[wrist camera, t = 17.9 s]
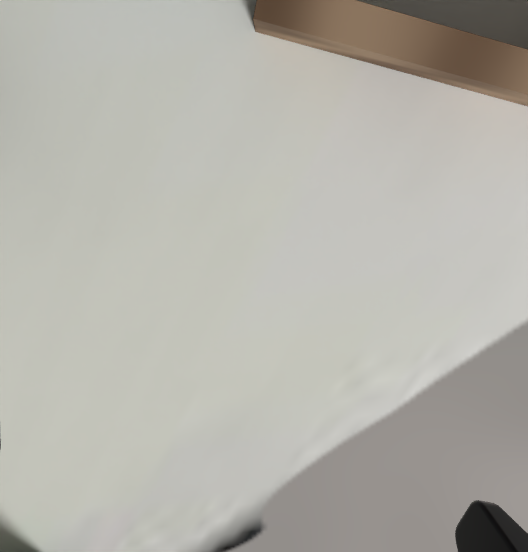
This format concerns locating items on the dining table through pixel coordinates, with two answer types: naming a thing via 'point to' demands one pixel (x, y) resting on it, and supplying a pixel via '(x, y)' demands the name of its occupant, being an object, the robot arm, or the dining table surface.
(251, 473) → the dining table surface
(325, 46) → the brown angular open frame
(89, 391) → the dining table surface
